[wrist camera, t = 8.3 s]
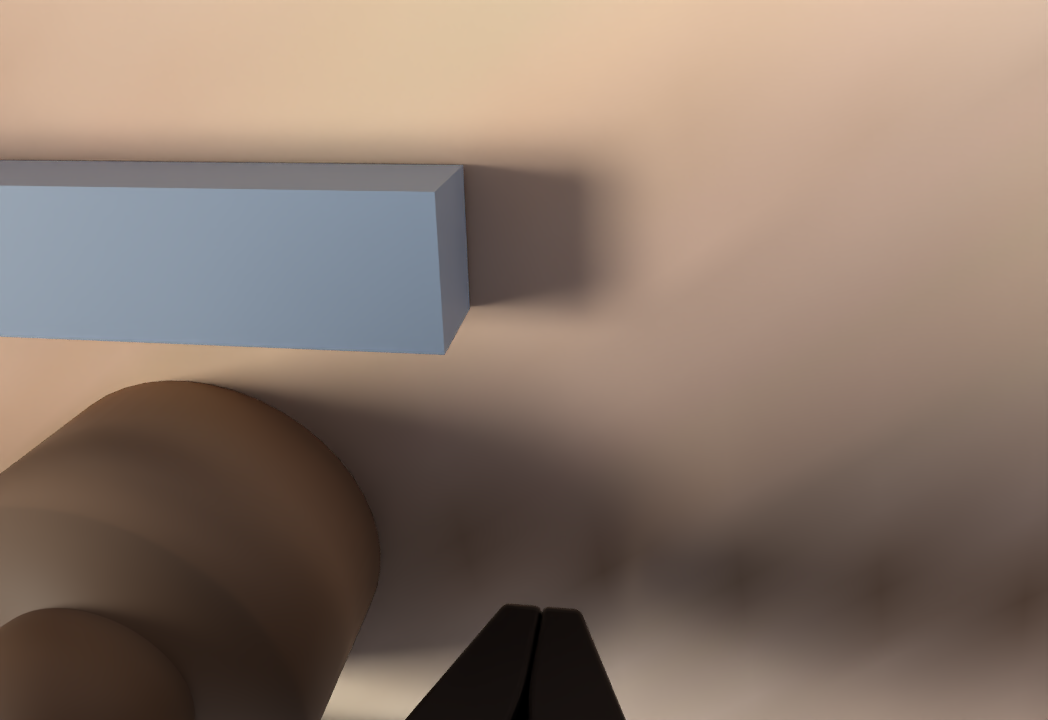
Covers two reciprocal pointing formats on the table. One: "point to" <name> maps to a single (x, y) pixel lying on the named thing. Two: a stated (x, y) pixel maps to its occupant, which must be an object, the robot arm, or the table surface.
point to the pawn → (180, 563)
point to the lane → (235, 254)
